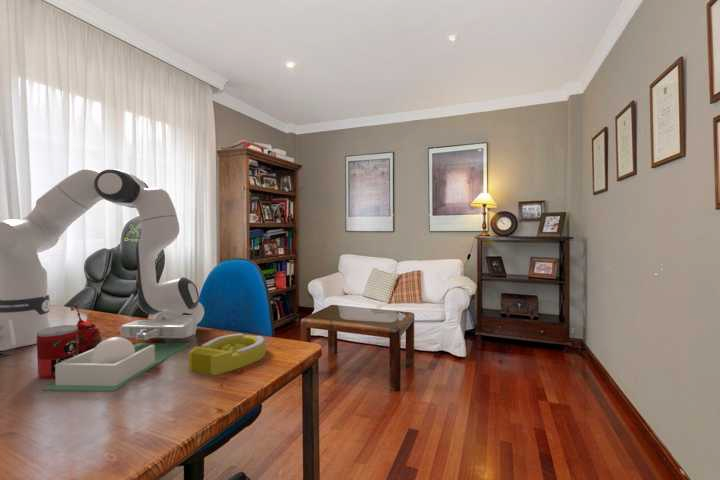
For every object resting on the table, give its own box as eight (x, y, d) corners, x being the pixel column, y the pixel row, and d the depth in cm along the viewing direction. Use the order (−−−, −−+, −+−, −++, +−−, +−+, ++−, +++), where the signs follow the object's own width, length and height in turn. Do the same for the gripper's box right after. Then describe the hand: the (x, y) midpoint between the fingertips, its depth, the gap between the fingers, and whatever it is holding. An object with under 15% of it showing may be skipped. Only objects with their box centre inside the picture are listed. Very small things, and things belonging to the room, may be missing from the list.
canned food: (55, 380, 81) (54, 334, 80) (28, 378, 82) (27, 332, 82) (87, 368, 88) (86, 325, 88) (62, 365, 90) (61, 324, 89)
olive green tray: (176, 369, 88) (176, 350, 88) (232, 344, 108) (232, 328, 107) (227, 378, 82) (227, 358, 82) (276, 350, 102) (276, 334, 102)
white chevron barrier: (103, 362, 92) (103, 344, 92) (154, 363, 91) (154, 344, 91) (55, 386, 78) (55, 364, 78) (115, 387, 77) (115, 365, 77)
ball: (115, 336, 91) (110, 372, 88) (83, 338, 82) (77, 377, 80) (145, 335, 89) (141, 372, 87) (116, 337, 80) (110, 378, 78)
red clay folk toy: (92, 354, 97) (91, 302, 97) (63, 357, 96) (62, 304, 95) (105, 346, 105) (104, 297, 104) (78, 348, 103) (77, 298, 103)
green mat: (138, 344, 107) (138, 343, 107) (188, 344, 106) (188, 343, 106) (43, 390, 76) (43, 388, 76) (113, 391, 75) (113, 390, 75)
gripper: (138, 313, 110) (104, 325, 96) (200, 314, 109) (175, 326, 95) (138, 333, 110) (105, 347, 96) (200, 333, 109) (176, 348, 96)
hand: (140, 337), depth 96 cm, fingers closed
